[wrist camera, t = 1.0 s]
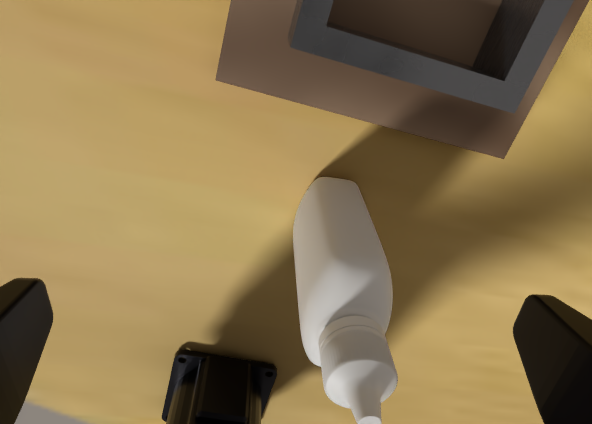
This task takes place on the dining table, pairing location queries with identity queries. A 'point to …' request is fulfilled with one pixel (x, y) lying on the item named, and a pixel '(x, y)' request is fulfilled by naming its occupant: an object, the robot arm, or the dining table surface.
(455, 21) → the socket board
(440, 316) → the dining table surface
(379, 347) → the eye dropper bottle
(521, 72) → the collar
